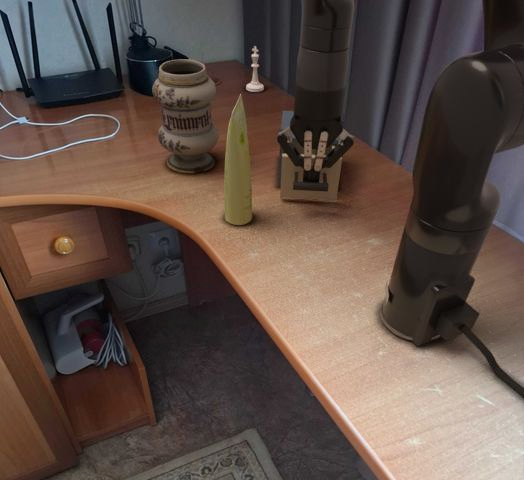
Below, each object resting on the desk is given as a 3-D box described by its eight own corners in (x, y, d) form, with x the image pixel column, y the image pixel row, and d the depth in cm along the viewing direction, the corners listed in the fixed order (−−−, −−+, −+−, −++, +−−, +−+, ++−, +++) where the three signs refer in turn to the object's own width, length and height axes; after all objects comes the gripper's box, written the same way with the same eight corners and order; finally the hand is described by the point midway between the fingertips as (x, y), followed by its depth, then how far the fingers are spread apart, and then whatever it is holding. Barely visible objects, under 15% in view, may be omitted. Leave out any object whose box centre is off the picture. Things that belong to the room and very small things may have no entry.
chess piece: (257, 93, 126) (257, 50, 118) (242, 89, 127) (241, 47, 120) (267, 88, 129) (268, 45, 121) (252, 84, 130) (252, 42, 123)
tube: (259, 222, 83) (261, 105, 69) (235, 230, 81) (231, 112, 67) (242, 207, 86) (241, 93, 72) (218, 215, 84) (212, 99, 70)
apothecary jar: (177, 182, 92) (165, 81, 79) (152, 158, 99) (137, 61, 86) (230, 167, 97) (227, 70, 84) (203, 145, 104) (196, 52, 90)
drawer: (337, 215, 83) (343, 173, 78) (278, 212, 84) (280, 170, 78) (333, 171, 95) (339, 131, 89) (282, 168, 95) (284, 129, 89)
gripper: (275, 87, 67) (271, 197, 80) (367, 91, 67) (349, 201, 80) (277, 70, 73) (273, 176, 85) (363, 73, 72) (346, 180, 85)
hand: (310, 188), depth 82 cm, fingers closed
